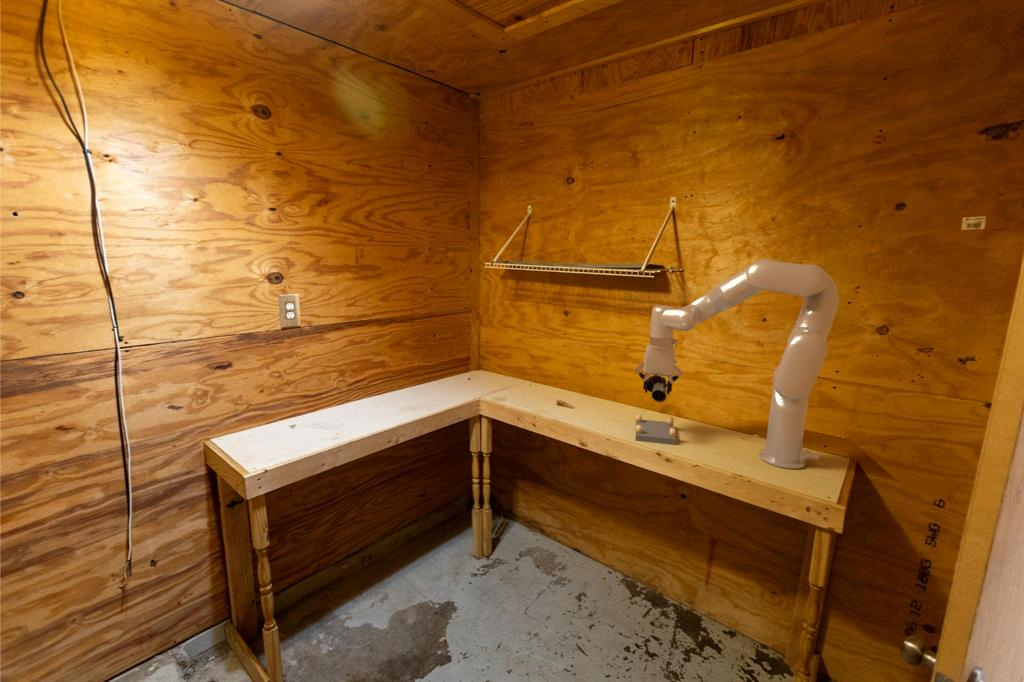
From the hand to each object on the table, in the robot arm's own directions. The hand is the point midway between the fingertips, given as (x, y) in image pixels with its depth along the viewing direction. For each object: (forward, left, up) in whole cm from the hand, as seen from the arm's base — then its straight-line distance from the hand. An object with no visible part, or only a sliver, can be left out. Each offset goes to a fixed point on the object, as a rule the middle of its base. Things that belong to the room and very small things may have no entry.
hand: (657, 392), depth 159 cm
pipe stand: (0, 0, -15) cm, 15 cm away
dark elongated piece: (0, 0, -1) cm, 1 cm away
